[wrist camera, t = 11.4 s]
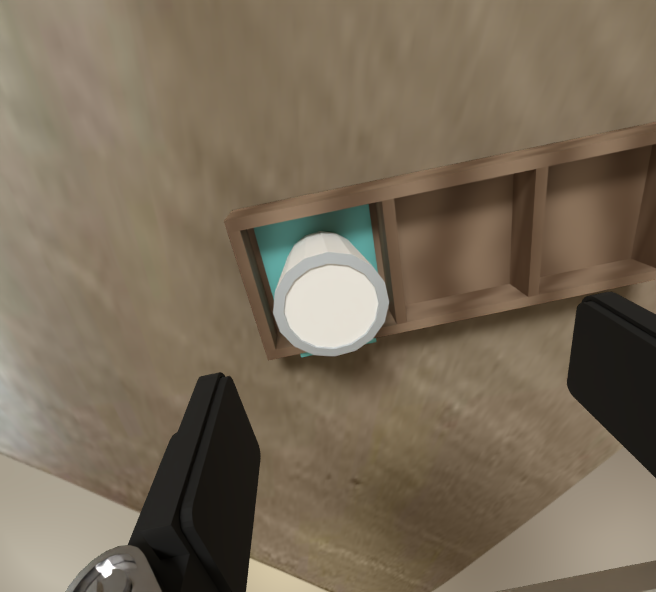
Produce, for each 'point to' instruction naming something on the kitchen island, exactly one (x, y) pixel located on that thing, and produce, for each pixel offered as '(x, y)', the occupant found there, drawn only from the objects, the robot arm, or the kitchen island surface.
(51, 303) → the kitchen island surface
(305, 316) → the white cup
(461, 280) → the rack
